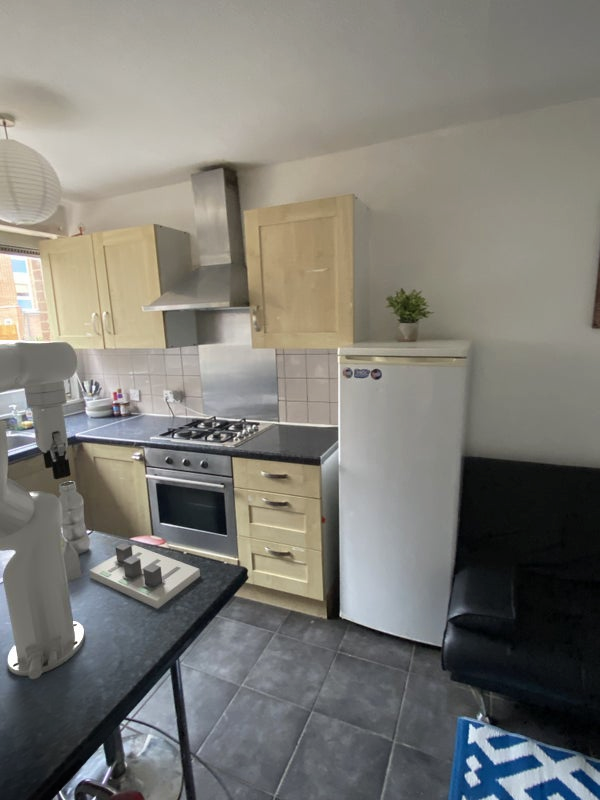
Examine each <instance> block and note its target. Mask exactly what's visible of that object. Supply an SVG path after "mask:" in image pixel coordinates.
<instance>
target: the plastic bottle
mask: <svg viewBox="0 0 600 800" xmlns="http://www.w3.org/2000/svg"><path fill="white" fill-rule="evenodd" d="M59 493H60V495H59V497H58V499H59V500H60V502H61V506H62V534H63V535H64V537H65V538H66V539H67V540H68V541H69V542H70V543H71V545H72V546H73V548H74V549H75V550H76V552H77V553H78V556H80V555H82V554H84V553H85V552H87V551H88V549H89V548H90V545H91V540H90V537H89V534H88V531H87V527H86V524H85V514H84V504H85V503H84V498H83V496H82V494H80V493H79V492H78V491H77V486H76V482H75V481H71V480H70V481H65V482H62V483H60V484H59Z"/></svg>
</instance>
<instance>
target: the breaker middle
mask: <svg viewBox="0 0 600 800" xmlns="http://www.w3.org/2000/svg"><path fill="white" fill-rule="evenodd" d="M123 563H124V571H125V575H123V576H122V577H123V578H125V579H128V580H130V581H134V580H135V579H137V578H138V577H140V576H141V575H143V574H144V572H143V571H142V570H141V562H140V559H139V558H137V557H134V556H130V557H129V558H127V559H125V560H124V561H123Z"/></svg>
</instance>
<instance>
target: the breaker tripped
mask: <svg viewBox="0 0 600 800" xmlns="http://www.w3.org/2000/svg"><path fill="white" fill-rule="evenodd" d="M132 546H133V545H131V544H128V543H125V542H123V543H121V544H119V545H117V546H115V554H116V556H117V561H115V562H114V563H116V564H119V565H121V566H123V567H124V563H123V561H124V560H125V559H127V558H129V557H130V556H133V554H132Z"/></svg>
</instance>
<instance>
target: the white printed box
mask: <svg viewBox="0 0 600 800" xmlns="http://www.w3.org/2000/svg"><path fill="white" fill-rule="evenodd" d="M62 550H63V558H64V564H65V571H66V577H67V583H68V582H71V581H73V580H75V579H78V578H82V572H81V563H80V557H79V556H80V555H78V553H77V552H76V550H75V549H74V548H73V546H72V545H71V543H70V542H69V541H68V540H67V539H66V538H65V537H64V535H63V533H62Z"/></svg>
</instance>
